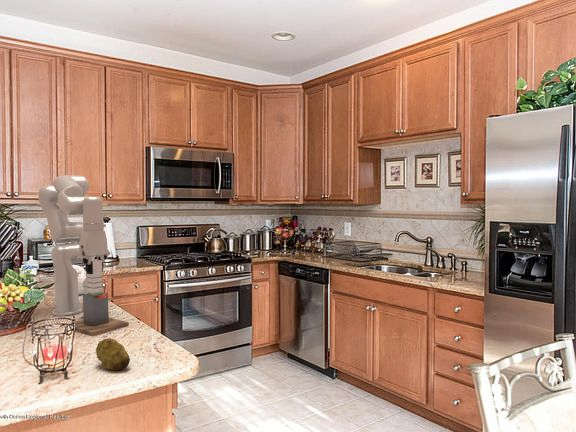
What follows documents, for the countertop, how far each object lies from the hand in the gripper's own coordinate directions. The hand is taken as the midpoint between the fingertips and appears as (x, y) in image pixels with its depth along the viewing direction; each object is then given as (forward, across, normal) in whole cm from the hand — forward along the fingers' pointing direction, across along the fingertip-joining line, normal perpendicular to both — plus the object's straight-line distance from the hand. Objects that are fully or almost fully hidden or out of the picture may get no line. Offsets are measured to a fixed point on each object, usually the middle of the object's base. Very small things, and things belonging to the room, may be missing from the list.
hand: (94, 272), depth 180 cm
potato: (+22, +22, +43) cm, 53 cm away
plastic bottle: (+22, -8, -16) cm, 29 cm away
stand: (+22, 0, 0) cm, 22 cm away
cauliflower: (+23, -31, -67) cm, 77 cm away
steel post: (+14, 0, 0) cm, 14 cm away
